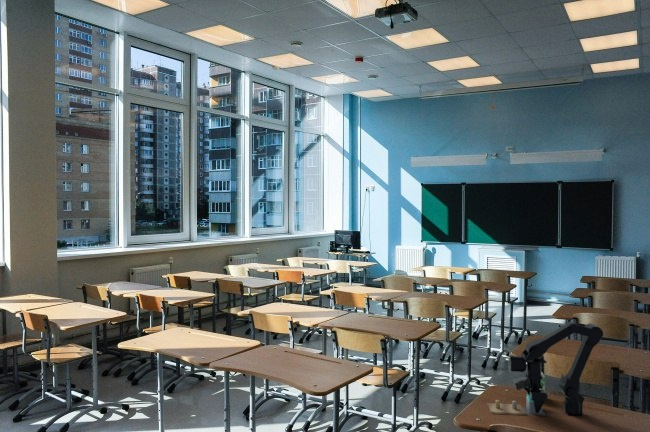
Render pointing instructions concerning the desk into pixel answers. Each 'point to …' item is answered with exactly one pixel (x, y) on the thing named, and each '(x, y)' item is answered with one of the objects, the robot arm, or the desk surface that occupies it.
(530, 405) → the sleeve
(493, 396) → the desk surface
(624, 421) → the desk surface
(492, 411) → the pin board
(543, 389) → the soda can
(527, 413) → the pad
